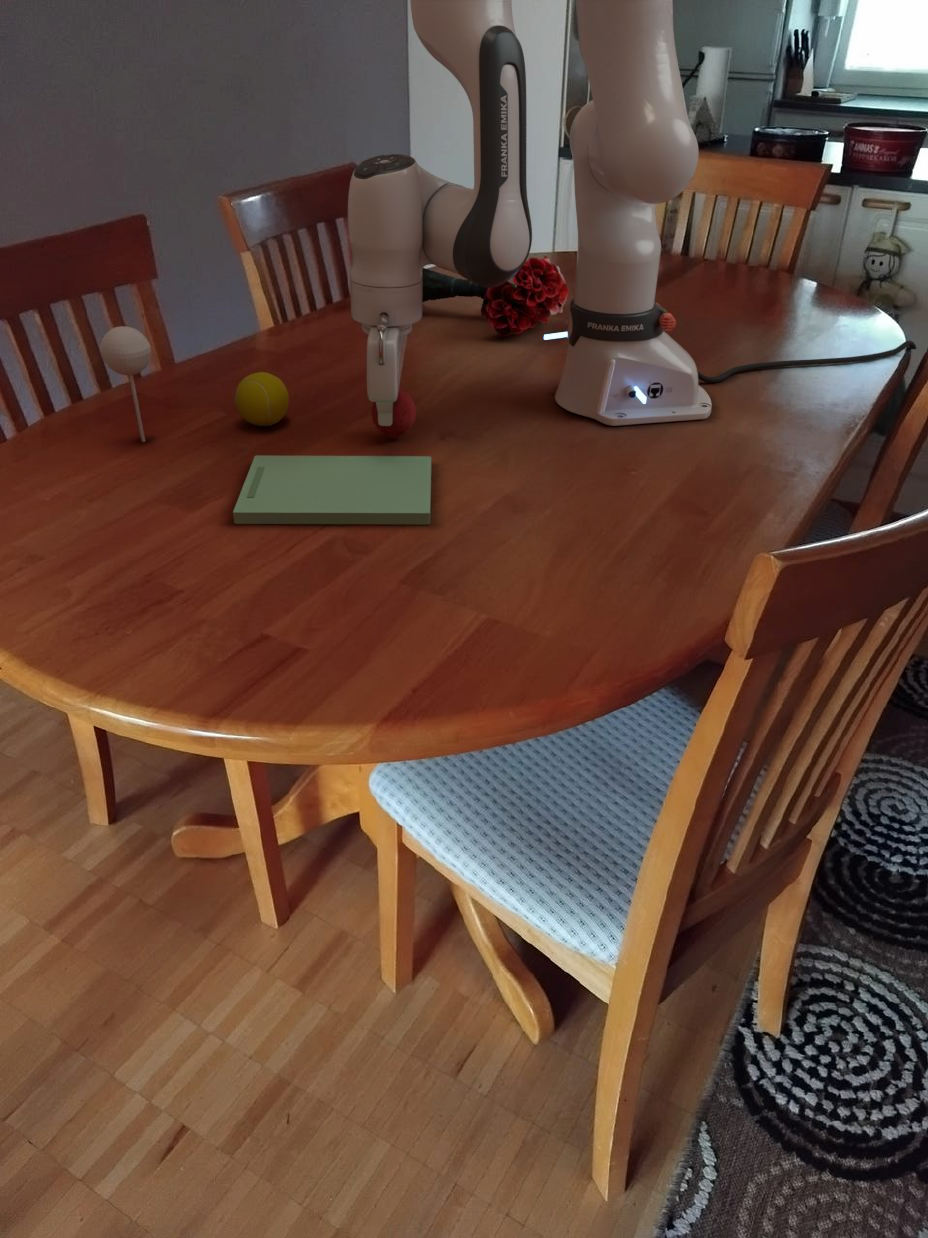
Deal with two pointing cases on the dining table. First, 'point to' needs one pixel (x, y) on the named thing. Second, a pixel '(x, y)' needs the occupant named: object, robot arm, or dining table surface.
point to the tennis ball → (262, 399)
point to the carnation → (508, 295)
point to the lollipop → (127, 357)
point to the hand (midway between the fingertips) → (388, 409)
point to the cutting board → (336, 490)
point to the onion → (397, 416)
